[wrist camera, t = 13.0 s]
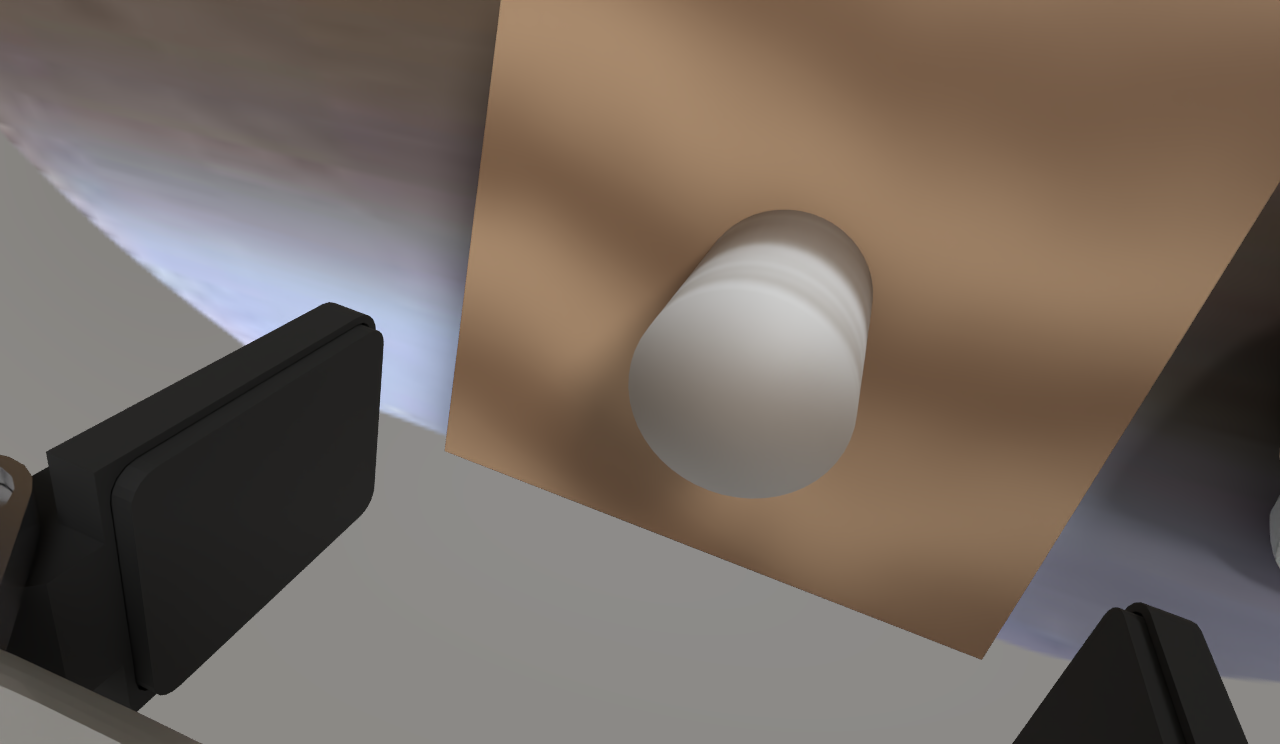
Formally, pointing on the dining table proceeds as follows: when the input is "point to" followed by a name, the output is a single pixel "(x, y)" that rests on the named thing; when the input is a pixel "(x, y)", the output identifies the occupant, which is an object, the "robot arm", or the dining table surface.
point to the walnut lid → (851, 270)
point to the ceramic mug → (1275, 529)
